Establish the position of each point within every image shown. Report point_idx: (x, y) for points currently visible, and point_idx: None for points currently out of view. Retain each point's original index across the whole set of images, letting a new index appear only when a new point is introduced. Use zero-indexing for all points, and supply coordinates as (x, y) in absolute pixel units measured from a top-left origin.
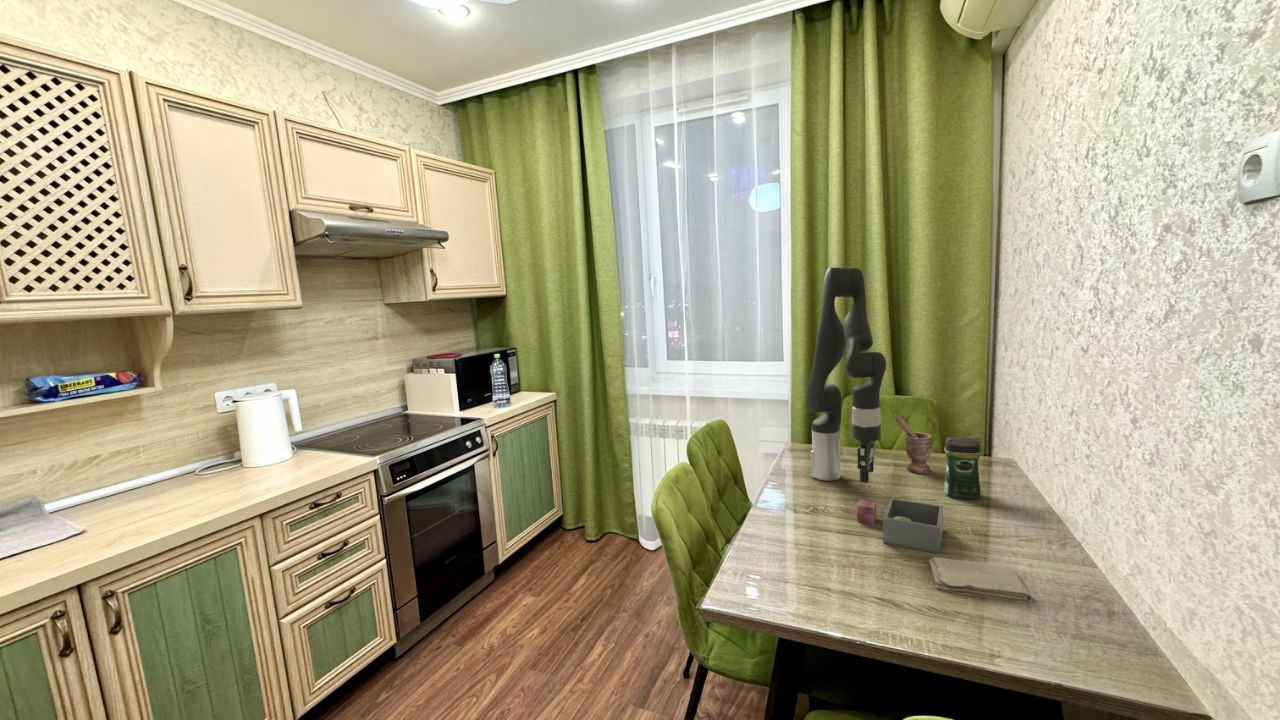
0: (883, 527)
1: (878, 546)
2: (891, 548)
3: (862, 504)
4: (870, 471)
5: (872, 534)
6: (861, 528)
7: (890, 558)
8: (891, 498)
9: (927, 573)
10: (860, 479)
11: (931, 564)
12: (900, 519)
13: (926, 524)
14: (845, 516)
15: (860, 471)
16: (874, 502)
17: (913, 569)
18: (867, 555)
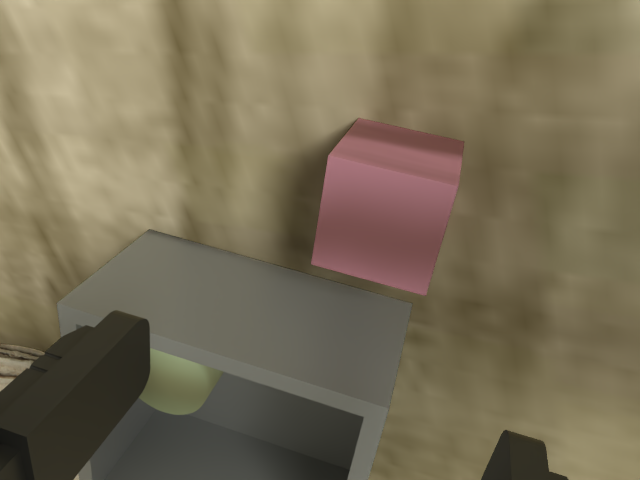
0: (96, 272)
1: (108, 203)
2: (116, 254)
3: (360, 197)
4: (484, 474)
5: (217, 190)
6: (269, 137)
7: (35, 236)
8: (375, 412)
9: (6, 331)
10: (101, 323)
11: (16, 362)
12: (165, 374)
13: (86, 464)
14: (426, 35)
15: (21, 403)
16: (418, 284)
17: (5, 297)
18: (8, 146)
